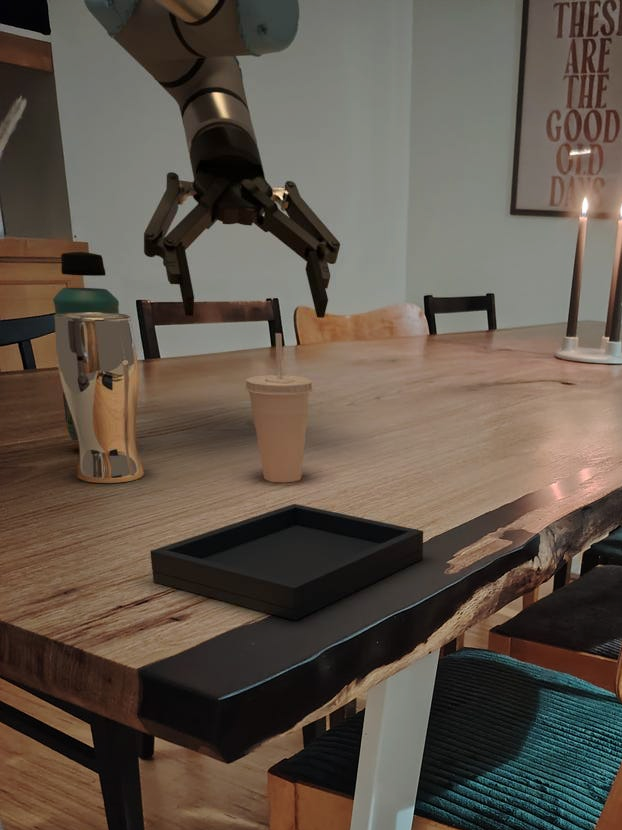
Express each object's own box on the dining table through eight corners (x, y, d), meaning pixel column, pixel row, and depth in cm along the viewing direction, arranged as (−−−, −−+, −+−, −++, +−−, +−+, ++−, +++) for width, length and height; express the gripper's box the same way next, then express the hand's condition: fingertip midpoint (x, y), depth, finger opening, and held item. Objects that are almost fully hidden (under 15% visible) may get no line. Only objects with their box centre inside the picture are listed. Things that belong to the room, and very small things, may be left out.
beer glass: (153, 468, 95) (138, 313, 89) (142, 484, 88) (125, 319, 82) (81, 467, 93) (61, 310, 87) (65, 484, 87) (42, 317, 81)
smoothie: (257, 487, 90) (249, 336, 84) (244, 472, 95) (236, 329, 89) (322, 483, 92) (318, 336, 86) (305, 469, 97) (302, 329, 92)
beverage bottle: (60, 447, 101) (34, 249, 93) (120, 441, 105) (99, 251, 97) (84, 459, 97) (58, 252, 89) (145, 452, 101) (126, 254, 93)
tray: (295, 621, 59) (294, 587, 59) (153, 582, 65) (149, 550, 64) (422, 558, 72) (423, 530, 71) (295, 530, 77) (294, 503, 77)
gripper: (328, 187, 110) (366, 332, 103) (104, 171, 100) (130, 331, 94) (340, 133, 103) (381, 285, 97) (101, 111, 94) (129, 278, 87)
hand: (258, 308), depth 95 cm, fingers open, 13 cm apart
